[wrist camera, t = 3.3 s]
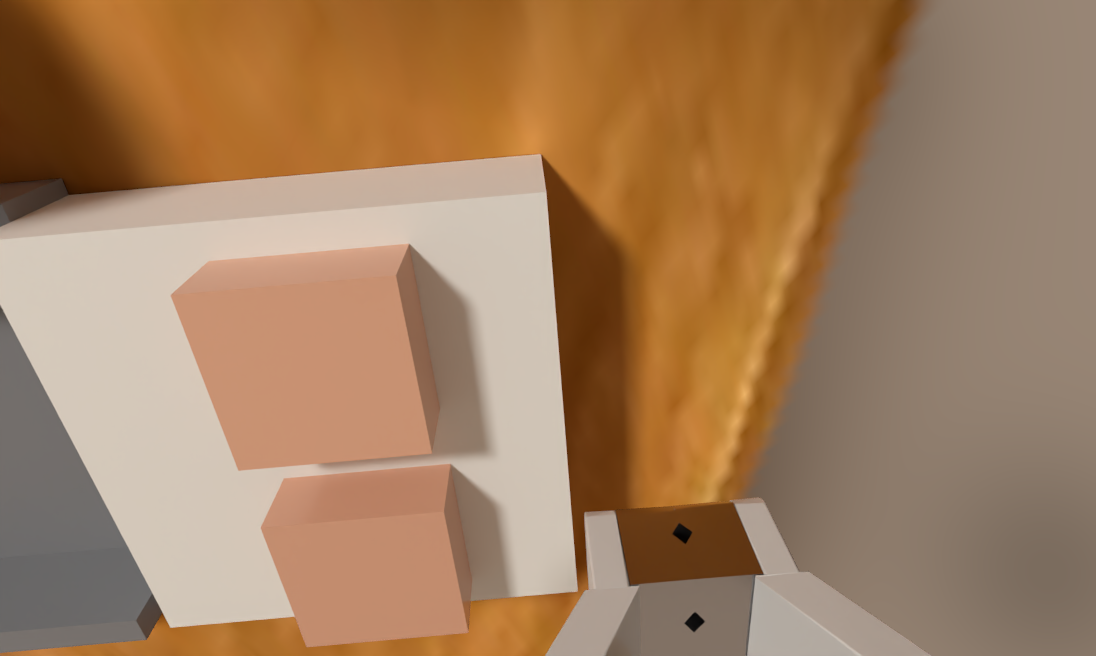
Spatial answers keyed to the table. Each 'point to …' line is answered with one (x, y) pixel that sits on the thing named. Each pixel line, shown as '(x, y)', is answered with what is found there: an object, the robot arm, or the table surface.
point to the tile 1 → (313, 355)
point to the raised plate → (188, 413)
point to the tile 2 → (371, 554)
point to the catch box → (55, 509)
